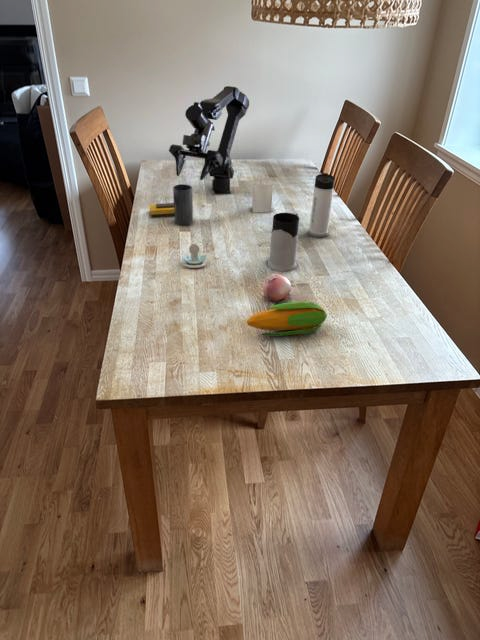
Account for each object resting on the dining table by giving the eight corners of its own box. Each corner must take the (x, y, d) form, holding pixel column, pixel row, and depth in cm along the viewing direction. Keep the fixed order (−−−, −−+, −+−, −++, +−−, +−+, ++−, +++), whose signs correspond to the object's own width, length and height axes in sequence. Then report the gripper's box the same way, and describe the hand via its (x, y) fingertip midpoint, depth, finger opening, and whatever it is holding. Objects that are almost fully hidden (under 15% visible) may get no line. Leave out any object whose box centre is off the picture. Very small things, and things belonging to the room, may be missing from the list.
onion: (262, 290, 137) (263, 267, 133) (290, 291, 137) (292, 268, 133) (262, 306, 130) (263, 282, 126) (291, 307, 130) (294, 283, 126)
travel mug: (326, 230, 172) (334, 173, 160) (327, 238, 166) (335, 179, 155) (308, 229, 172) (315, 172, 161) (309, 237, 167) (316, 178, 155)
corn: (333, 309, 116) (250, 316, 112) (329, 336, 120) (249, 344, 116) (322, 294, 122) (243, 300, 119) (319, 320, 126) (243, 327, 122)
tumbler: (191, 218, 177) (190, 183, 170) (194, 225, 172) (193, 190, 165) (173, 219, 176) (172, 184, 169) (175, 226, 171) (174, 191, 164)
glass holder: (263, 266, 148) (266, 219, 140) (280, 248, 159) (284, 203, 151) (290, 273, 145) (295, 226, 137) (306, 254, 156) (311, 209, 148)
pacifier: (206, 269, 146) (206, 259, 151) (206, 250, 142) (206, 241, 147) (181, 269, 146) (182, 259, 150) (181, 250, 142) (181, 241, 147)
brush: (182, 210, 183) (182, 200, 181) (184, 215, 178) (184, 206, 176) (150, 212, 180) (149, 202, 178) (151, 217, 176) (150, 208, 174)
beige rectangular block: (271, 212, 183) (272, 186, 178) (252, 212, 183) (254, 186, 177) (269, 208, 186) (271, 182, 181) (252, 208, 186) (253, 182, 180)
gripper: (168, 120, 168) (155, 163, 167) (218, 127, 162) (204, 171, 161) (181, 136, 179) (169, 177, 178) (228, 143, 173) (216, 185, 172)
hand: (189, 177), depth 172 cm, fingers open, 9 cm apart
